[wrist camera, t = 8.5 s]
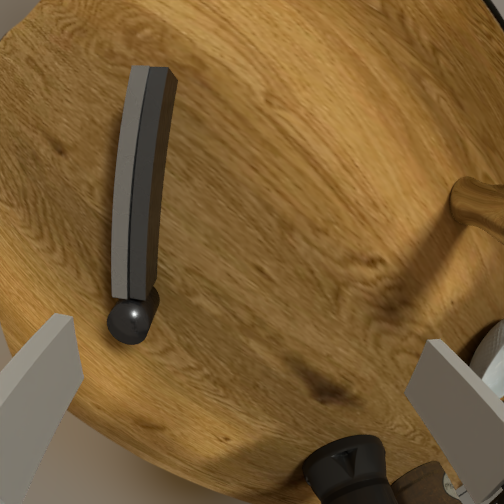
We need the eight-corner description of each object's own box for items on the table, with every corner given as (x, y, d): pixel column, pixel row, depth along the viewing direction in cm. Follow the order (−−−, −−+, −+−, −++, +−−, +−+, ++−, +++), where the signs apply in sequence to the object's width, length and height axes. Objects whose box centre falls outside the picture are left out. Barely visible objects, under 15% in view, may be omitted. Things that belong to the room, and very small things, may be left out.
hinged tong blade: (140, 277, 31) (127, 299, 26) (127, 275, 31) (111, 296, 26) (161, 79, 25) (149, 65, 20) (147, 78, 25) (132, 65, 20)
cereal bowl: (496, 289, 36) (525, 308, 29) (528, 314, 39) (551, 331, 32) (439, 378, 40) (460, 404, 34) (482, 386, 44) (500, 407, 37)
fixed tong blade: (159, 316, 33) (147, 347, 27) (125, 311, 32) (108, 340, 26) (182, 80, 25) (171, 64, 20) (142, 79, 25) (122, 63, 19)
